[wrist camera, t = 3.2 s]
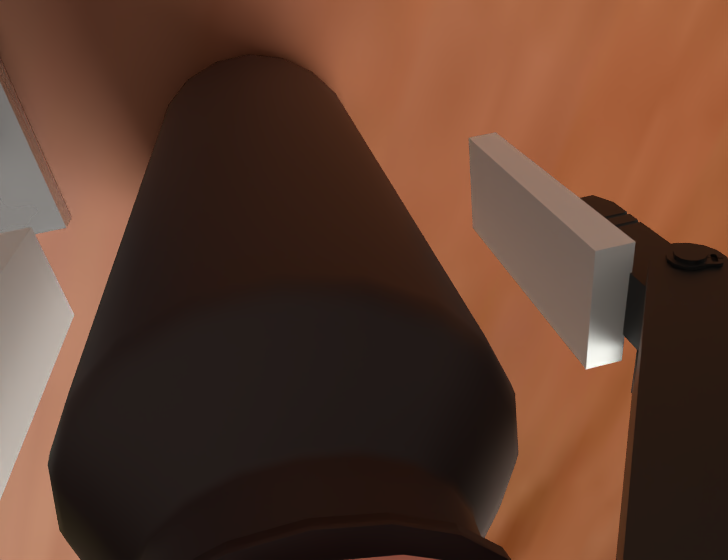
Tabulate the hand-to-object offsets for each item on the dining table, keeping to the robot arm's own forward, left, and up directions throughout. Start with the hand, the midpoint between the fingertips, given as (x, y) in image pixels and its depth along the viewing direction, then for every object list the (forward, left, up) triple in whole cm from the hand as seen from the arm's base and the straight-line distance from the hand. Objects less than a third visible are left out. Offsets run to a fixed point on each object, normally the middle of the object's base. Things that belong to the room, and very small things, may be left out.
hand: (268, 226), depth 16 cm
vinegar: (0, 0, -6) cm, 6 cm away
